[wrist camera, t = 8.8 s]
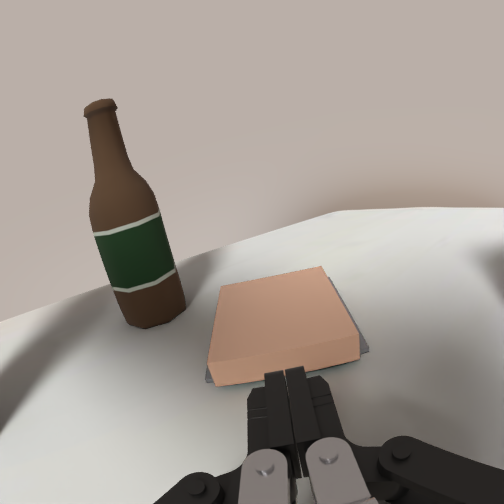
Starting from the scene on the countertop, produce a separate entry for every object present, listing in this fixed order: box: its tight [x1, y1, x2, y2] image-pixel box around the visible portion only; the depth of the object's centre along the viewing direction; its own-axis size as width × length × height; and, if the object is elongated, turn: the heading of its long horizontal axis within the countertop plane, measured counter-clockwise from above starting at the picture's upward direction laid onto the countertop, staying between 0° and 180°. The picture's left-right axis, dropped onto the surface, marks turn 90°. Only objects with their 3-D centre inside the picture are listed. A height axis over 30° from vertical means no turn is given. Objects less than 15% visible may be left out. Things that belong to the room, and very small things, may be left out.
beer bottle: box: [84, 99, 186, 329], centre depth 31 cm, size 8×8×24 cm
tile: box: [207, 266, 360, 387], centre depth 25 cm, size 10×2×12 cm
